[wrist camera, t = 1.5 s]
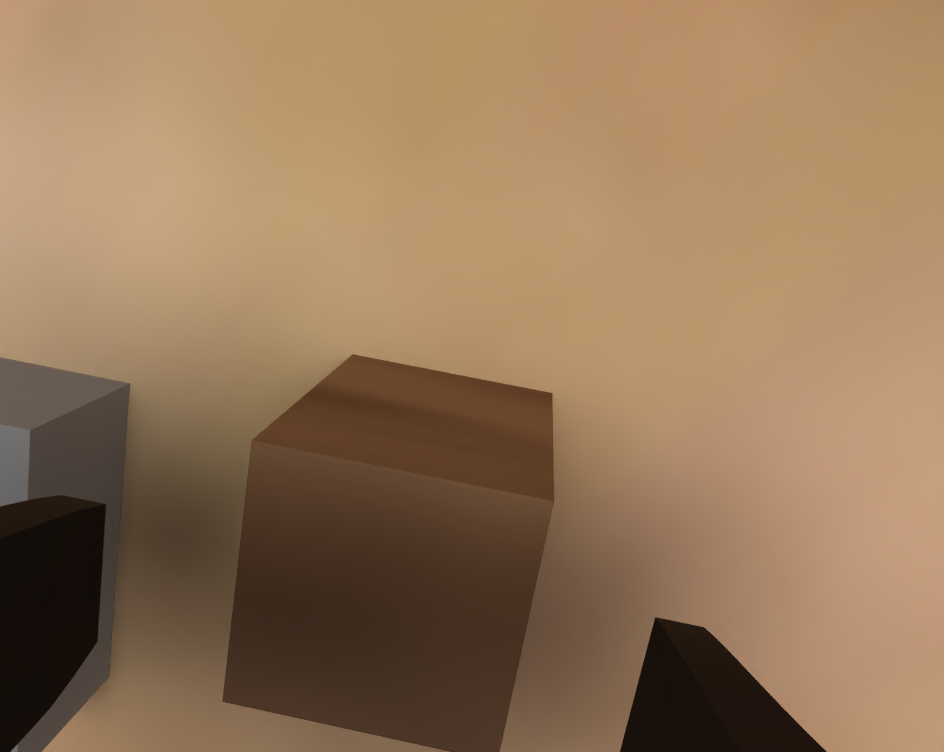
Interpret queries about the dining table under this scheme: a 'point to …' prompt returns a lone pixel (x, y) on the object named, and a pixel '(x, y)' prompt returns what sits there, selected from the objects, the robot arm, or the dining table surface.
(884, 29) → the dining table surface
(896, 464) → the dining table surface
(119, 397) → the pedestal block
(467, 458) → the walnut block
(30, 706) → the robot arm
